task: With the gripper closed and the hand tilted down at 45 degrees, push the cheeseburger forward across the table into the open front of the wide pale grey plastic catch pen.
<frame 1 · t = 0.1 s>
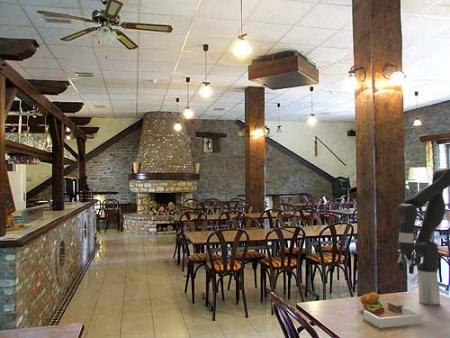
hand: (405, 271, 207), 17 cm above the table, fingers open, 8 cm apart
cardboard carton: (395, 309, 198), on the table
cheeseburger: (373, 310, 198), on the table
catch pen: (392, 320, 182), on the table
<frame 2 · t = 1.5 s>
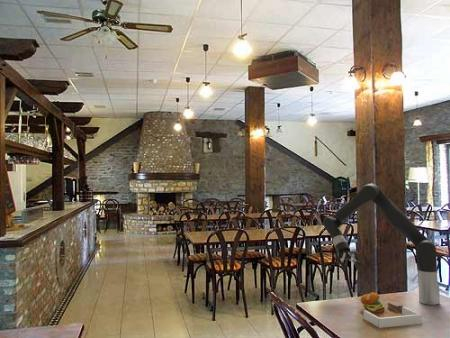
hand: (351, 268, 217), 17 cm above the table, fingers open, 7 cm apart
nothing on the table moved.
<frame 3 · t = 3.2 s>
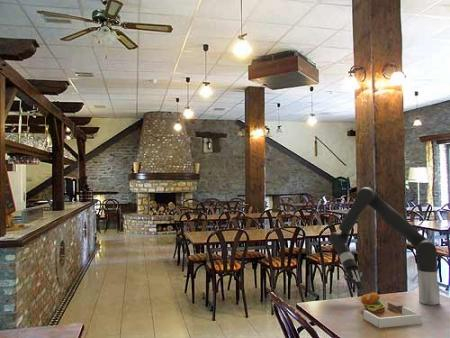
hand: (360, 289, 209), 8 cm above the table, fingers closed
nothing on the table moved.
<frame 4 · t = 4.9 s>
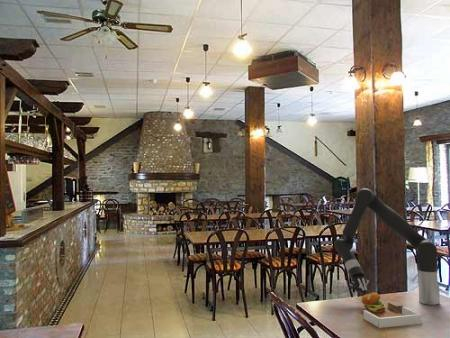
hand: (367, 298, 203), 5 cm above the table, fingers closed
cheeseburger: (374, 310, 198), on the table, touching gripper
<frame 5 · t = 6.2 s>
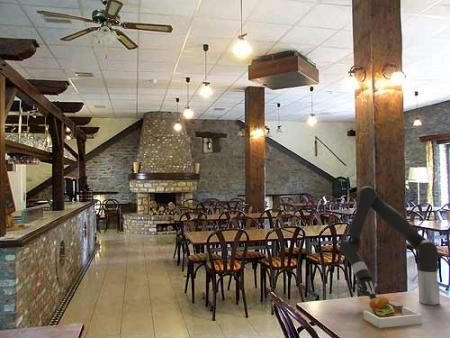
hand: (375, 302, 196), 5 cm above the table, fingers closed
cheeseburger: (382, 315, 190), on the table, touching gripper
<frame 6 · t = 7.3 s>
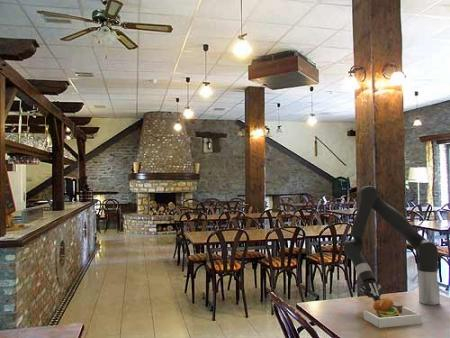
hand: (379, 304, 192), 5 cm above the table, fingers closed
cheeseburger: (386, 317, 187), on the table, touching gripper
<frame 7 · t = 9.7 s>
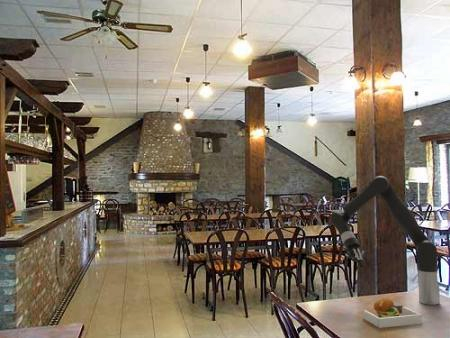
hand: (362, 267, 207), 20 cm above the table, fingers closed
cheeseburger: (387, 318, 187), on the table
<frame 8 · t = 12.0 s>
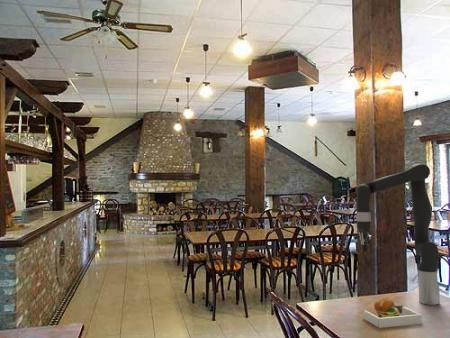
hand: (364, 251, 216), 27 cm above the table, fingers closed
nothing on the table moved.
at the end: cheeseburger inside the target area on the catch pen (3.1 cm from its centre), point 0.0 cm above the catch pen's base; cheeseburger moved 11.3 cm from its start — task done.
